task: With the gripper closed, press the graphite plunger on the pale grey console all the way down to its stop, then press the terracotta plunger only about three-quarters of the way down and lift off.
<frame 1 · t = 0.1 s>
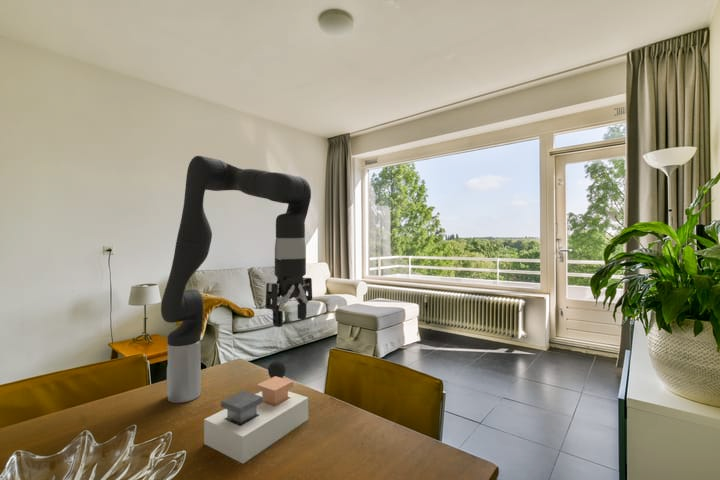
hand: (290, 322, 85), 29 cm above the table, tool pointing down, fingers open, 8 cm apart
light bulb: (277, 392, 112), on the table
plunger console: (259, 430, 89), on the table
terracotta plunger: (275, 394, 94), point 7 cm above the table, slide at 0.0 cm
graphite plunger: (242, 412, 85), point 7 cm above the table, slide at 0.0 cm
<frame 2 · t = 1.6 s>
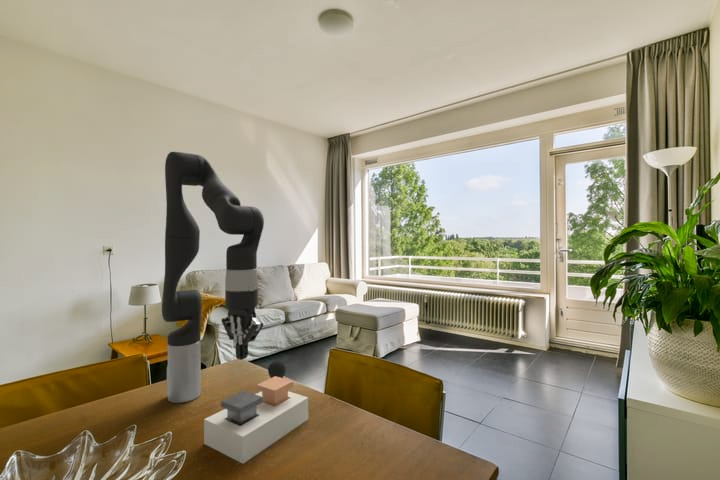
hand: (241, 358, 84), 20 cm above the table, tool pointing down, fingers closed
nothing on the table moved.
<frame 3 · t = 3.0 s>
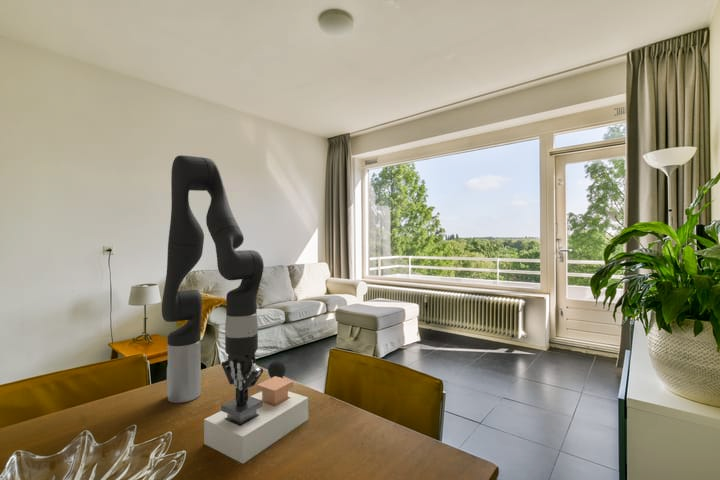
hand: (242, 403, 84), 9 cm above the table, tool pointing down, fingers closed
graphite plunger: (242, 415, 85), point 6 cm above the table, slide at 0.9 cm, touching gripper
everything else where it was.
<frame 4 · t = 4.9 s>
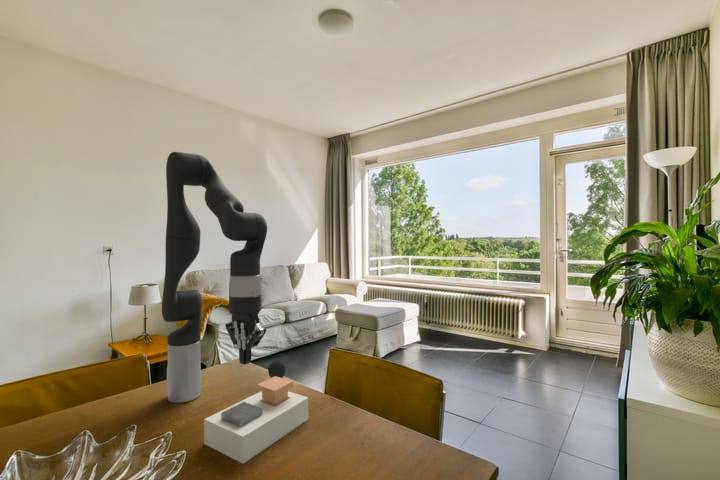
hand: (245, 363, 85), 19 cm above the table, tool pointing down, fingers closed
graphite plunger: (242, 423, 85), point 4 cm above the table, slide at 2.9 cm
everything else where it was.
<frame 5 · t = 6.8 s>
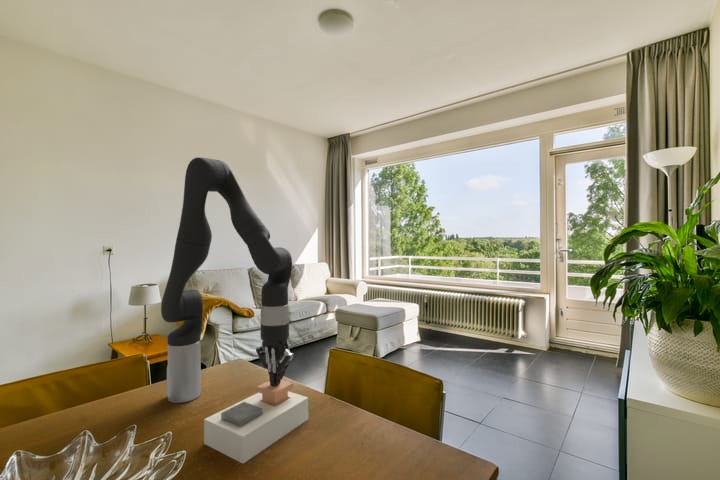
hand: (275, 384, 94), 10 cm above the table, tool pointing down, fingers closed
terracotta plunger: (275, 396, 94), point 7 cm above the table, slide at 0.5 cm, touching gripper
everything else where it was.
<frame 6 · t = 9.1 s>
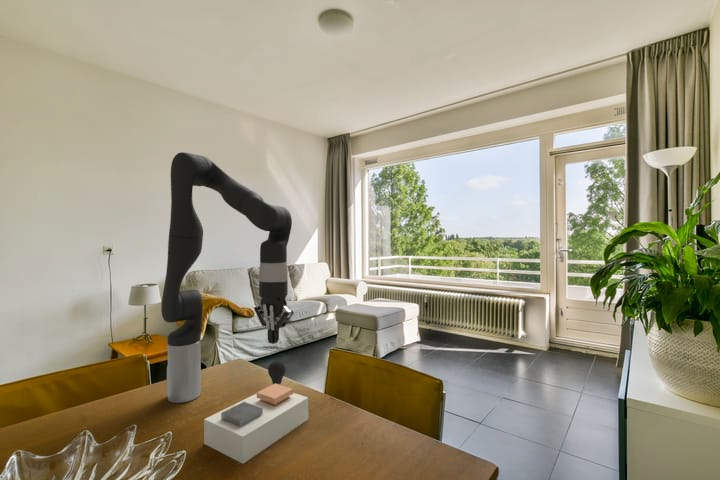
hand: (273, 342, 94), 21 cm above the table, tool pointing down, fingers closed
terracotta plunger: (275, 402, 94), point 5 cm above the table, slide at 2.1 cm
everything else where it was.
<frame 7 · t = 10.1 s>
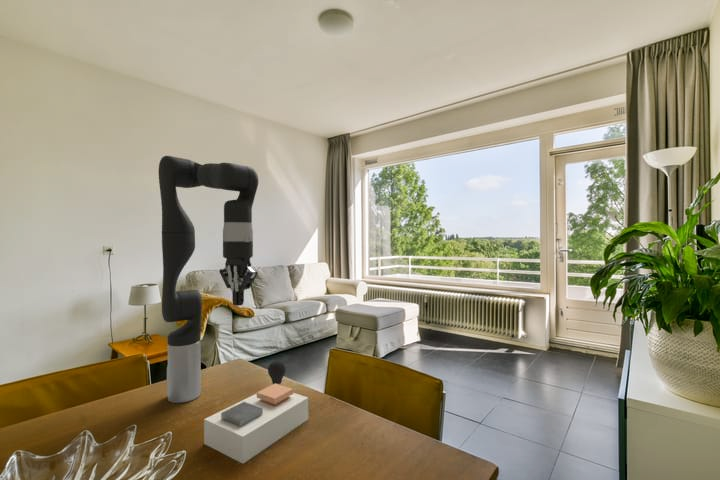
hand: (238, 305, 92), 32 cm above the table, tool pointing down, fingers closed
nothing on the table moved.
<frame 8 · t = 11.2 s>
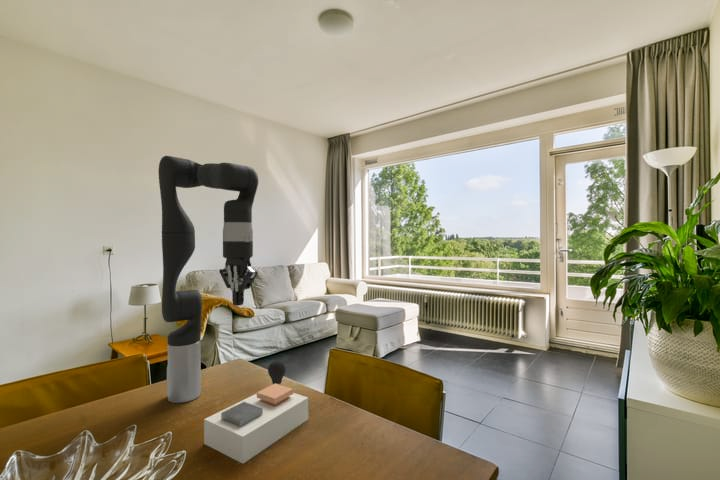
hand: (238, 304, 92), 32 cm above the table, tool pointing down, fingers closed
nothing on the table moved.
at the end: graphite plunger slide at 2.9 cm; terracotta plunger slide at 2.1 cm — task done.
